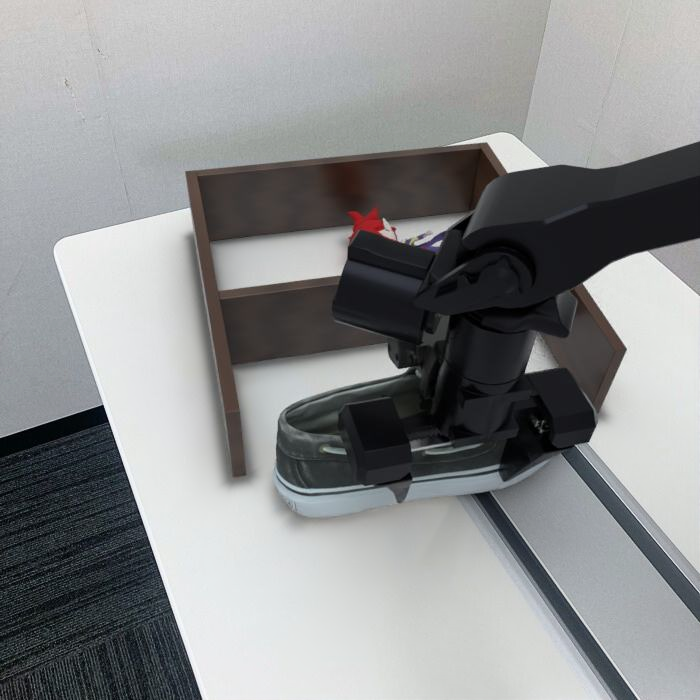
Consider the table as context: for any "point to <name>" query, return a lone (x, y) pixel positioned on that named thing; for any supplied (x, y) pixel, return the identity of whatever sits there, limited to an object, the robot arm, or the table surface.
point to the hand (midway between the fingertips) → (451, 487)
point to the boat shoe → (334, 468)
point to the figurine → (389, 230)
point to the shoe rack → (317, 294)
